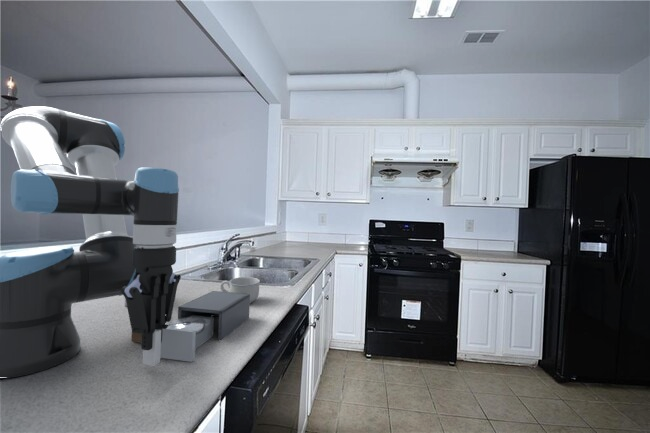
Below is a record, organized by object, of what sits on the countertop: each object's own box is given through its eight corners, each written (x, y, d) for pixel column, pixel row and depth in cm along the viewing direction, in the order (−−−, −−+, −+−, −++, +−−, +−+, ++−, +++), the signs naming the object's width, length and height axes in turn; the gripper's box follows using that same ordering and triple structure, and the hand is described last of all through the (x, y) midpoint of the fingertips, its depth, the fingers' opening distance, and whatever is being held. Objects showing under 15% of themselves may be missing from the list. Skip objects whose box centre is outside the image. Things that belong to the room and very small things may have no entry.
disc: (169, 340, 61) (169, 332, 61) (165, 327, 67) (165, 320, 67) (208, 332, 65) (208, 325, 65) (201, 321, 72) (201, 314, 72)
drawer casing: (221, 340, 70) (222, 310, 70) (177, 335, 72) (178, 306, 72) (249, 318, 86) (249, 293, 86) (212, 314, 88) (213, 290, 88)
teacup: (263, 298, 107) (263, 277, 107) (253, 307, 96) (253, 284, 96) (228, 296, 108) (229, 275, 108) (214, 305, 98) (215, 282, 98)
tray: (191, 361, 59) (192, 332, 59) (144, 355, 61) (145, 326, 61) (222, 337, 72) (223, 312, 72) (182, 332, 74) (183, 308, 74)
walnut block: (149, 343, 68) (150, 318, 68) (131, 341, 68) (132, 316, 68) (164, 334, 72) (165, 311, 72) (147, 332, 73) (148, 310, 73)
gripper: (145, 250, 49) (140, 384, 49) (192, 243, 62) (189, 349, 62) (109, 248, 50) (104, 378, 50) (163, 242, 63) (159, 346, 63)
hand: (151, 362), depth 56 cm, fingers closed
